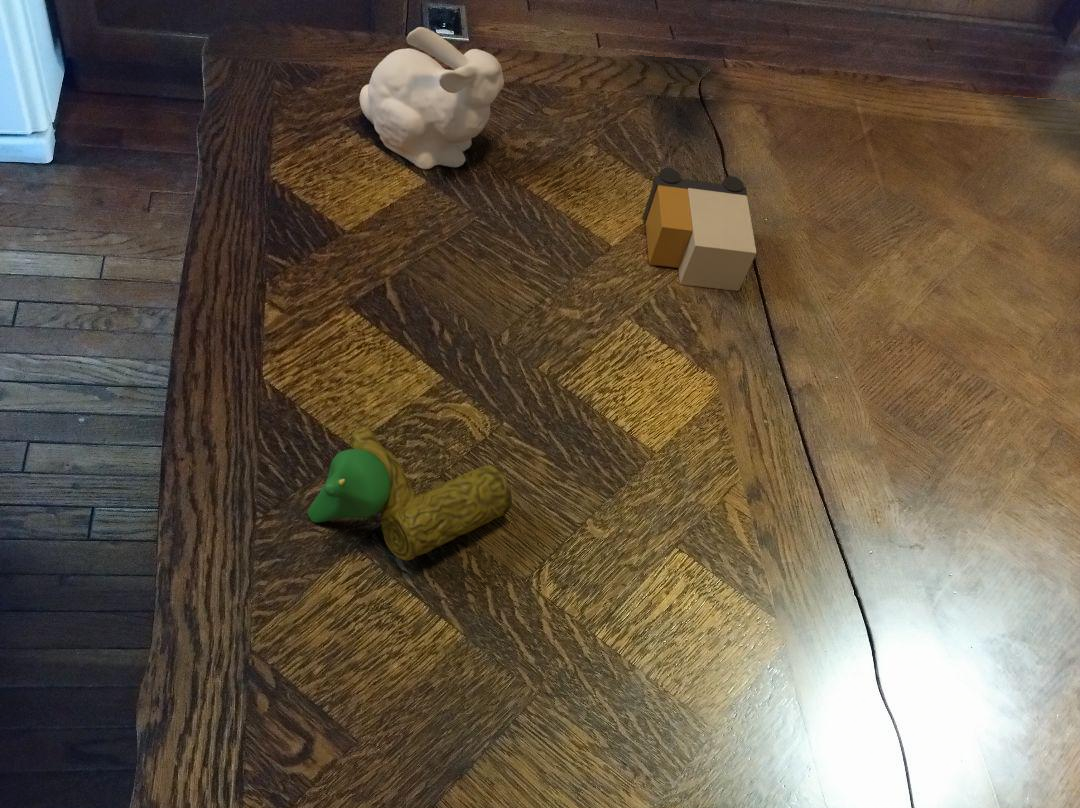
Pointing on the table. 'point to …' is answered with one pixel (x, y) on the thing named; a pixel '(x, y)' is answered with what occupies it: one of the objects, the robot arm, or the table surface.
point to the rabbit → (431, 99)
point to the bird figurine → (407, 498)
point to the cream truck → (700, 230)
